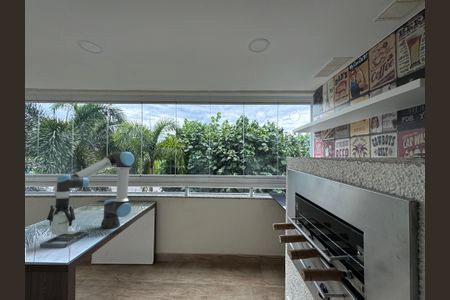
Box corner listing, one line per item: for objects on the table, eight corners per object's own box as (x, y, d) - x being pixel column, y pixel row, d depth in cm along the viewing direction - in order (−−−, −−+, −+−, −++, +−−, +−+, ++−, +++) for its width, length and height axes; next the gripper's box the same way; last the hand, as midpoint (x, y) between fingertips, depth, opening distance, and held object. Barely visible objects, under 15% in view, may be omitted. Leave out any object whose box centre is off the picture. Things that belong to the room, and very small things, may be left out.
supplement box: (56, 235, 153) (58, 216, 154) (51, 233, 157) (52, 214, 158) (69, 232, 159) (70, 214, 160) (63, 231, 163) (65, 212, 164)
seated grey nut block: (78, 237, 174) (78, 231, 174) (71, 239, 168) (72, 234, 168) (70, 236, 174) (71, 231, 175) (64, 239, 168) (64, 233, 169)
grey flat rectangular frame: (66, 234, 178) (66, 231, 178) (87, 234, 178) (87, 231, 178) (39, 247, 151) (40, 243, 151) (65, 247, 151) (65, 243, 152)
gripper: (82, 197, 164) (80, 229, 163) (49, 196, 163) (47, 229, 162) (76, 198, 157) (74, 232, 155) (41, 197, 155) (39, 232, 154)
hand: (60, 230), depth 158 cm, fingers closed on supplement box, 10 cm apart
